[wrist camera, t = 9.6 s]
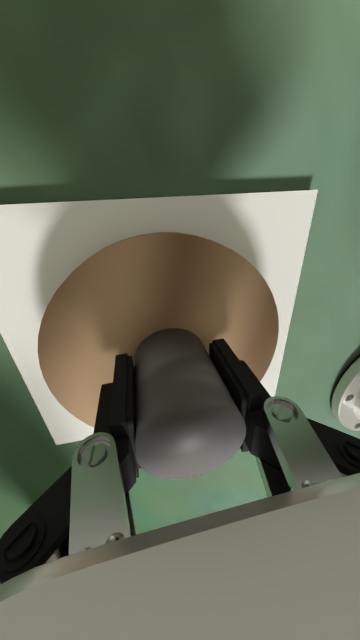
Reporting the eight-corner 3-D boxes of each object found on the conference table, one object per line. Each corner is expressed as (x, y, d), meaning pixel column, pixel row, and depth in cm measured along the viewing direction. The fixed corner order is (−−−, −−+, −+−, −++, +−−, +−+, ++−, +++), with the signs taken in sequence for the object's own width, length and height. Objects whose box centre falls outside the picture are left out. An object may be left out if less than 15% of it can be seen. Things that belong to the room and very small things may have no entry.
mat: (309, 190, 12) (317, 189, 12) (270, 395, 20) (273, 400, 19) (-52, 207, 10) (-63, 207, 9) (58, 438, 17) (56, 445, 16)
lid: (286, 224, 11) (429, 238, 6) (255, 406, 17) (311, 494, 12) (0, 241, 9) (-185, 287, 4) (80, 441, 15) (52, 567, 10)
